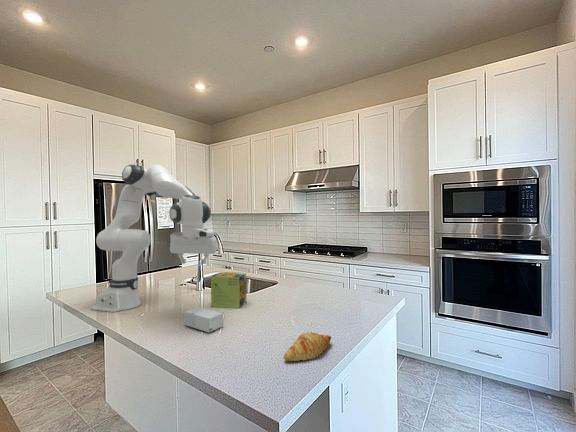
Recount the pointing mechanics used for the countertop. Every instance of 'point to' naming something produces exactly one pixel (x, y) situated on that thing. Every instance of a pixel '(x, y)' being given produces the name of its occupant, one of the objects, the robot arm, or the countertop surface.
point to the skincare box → (203, 319)
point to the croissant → (307, 347)
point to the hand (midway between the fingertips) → (193, 263)
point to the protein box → (228, 289)
